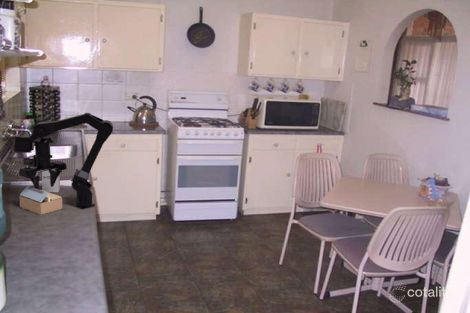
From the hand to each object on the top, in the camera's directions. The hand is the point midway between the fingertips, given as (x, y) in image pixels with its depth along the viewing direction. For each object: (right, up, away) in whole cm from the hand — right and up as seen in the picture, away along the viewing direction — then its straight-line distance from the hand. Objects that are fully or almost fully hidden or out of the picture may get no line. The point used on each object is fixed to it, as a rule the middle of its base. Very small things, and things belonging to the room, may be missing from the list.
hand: (44, 188), depth 185 cm
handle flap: (-2, -2, -6) cm, 6 cm away
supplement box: (-7, -3, +23) cm, 24 cm away
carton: (-1, -8, -1) cm, 8 cm away
